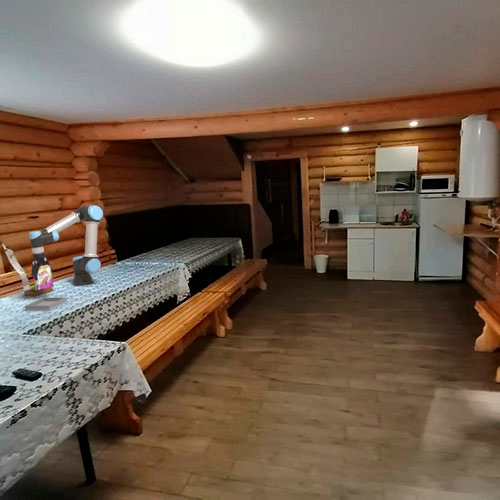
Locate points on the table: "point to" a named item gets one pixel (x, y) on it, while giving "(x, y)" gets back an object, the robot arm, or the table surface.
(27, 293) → the plant
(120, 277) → the table surface
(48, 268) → the candy bar box
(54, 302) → the holder
